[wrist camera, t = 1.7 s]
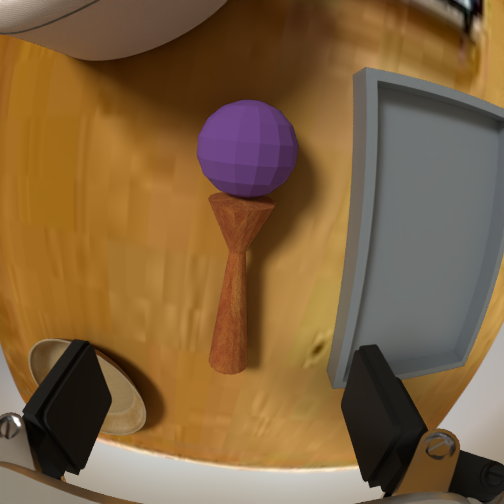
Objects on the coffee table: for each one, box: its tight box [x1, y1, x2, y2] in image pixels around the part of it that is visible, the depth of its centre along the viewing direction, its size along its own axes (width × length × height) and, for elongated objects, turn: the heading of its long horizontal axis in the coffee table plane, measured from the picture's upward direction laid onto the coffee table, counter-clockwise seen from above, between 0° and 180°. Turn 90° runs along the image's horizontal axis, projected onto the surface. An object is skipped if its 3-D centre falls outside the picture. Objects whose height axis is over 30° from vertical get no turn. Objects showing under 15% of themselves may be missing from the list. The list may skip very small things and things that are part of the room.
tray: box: [327, 67, 504, 389], centre depth 21 cm, size 26×16×3 cm, turn 0°
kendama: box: [197, 100, 298, 375], centre depth 20 cm, size 6×6×20 cm
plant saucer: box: [29, 338, 146, 435], centre depth 27 cm, size 15×15×3 cm
